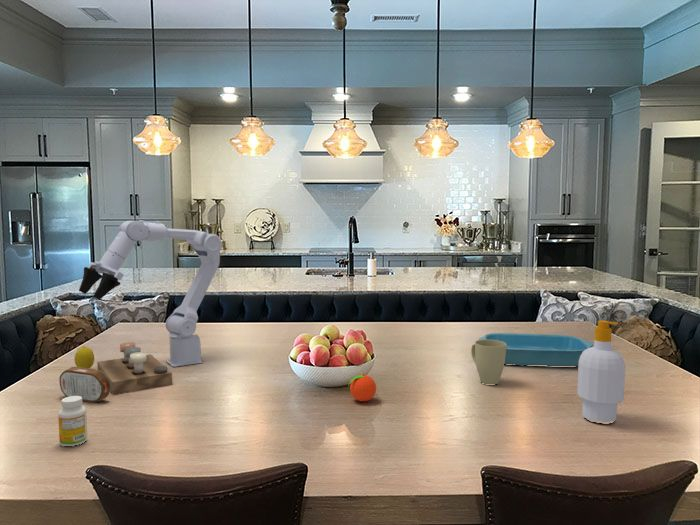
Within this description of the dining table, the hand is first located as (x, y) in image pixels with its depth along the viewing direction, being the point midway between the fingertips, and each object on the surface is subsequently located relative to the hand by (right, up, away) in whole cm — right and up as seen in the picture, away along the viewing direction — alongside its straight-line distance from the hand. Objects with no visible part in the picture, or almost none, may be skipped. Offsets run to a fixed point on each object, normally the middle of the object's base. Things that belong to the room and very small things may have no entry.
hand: (89, 295), depth 158 cm
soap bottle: (+136, -29, -25) cm, 141 cm away
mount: (+11, -25, +6) cm, 28 cm away
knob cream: (+15, -22, -1) cm, 26 cm away
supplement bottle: (+15, -30, -39) cm, 52 cm away
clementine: (+78, -27, -13) cm, 84 cm away
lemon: (-7, -25, +13) cm, 29 cm away
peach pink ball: (+7, -21, +11) cm, 25 cm away
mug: (+115, -26, +3) cm, 118 cm away
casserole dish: (+138, -24, +28) cm, 142 cm away
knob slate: (+11, -21, +5) cm, 24 cm away
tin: (+5, -27, -13) cm, 30 cm away
